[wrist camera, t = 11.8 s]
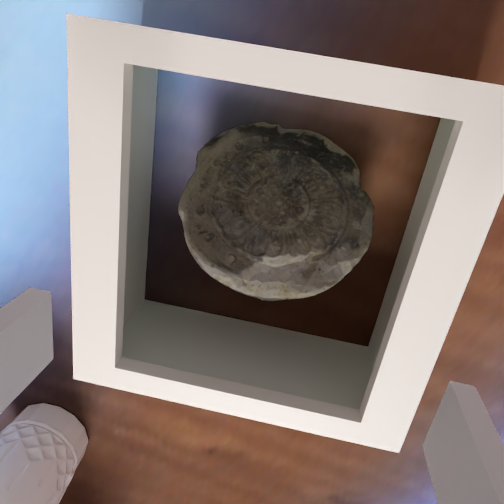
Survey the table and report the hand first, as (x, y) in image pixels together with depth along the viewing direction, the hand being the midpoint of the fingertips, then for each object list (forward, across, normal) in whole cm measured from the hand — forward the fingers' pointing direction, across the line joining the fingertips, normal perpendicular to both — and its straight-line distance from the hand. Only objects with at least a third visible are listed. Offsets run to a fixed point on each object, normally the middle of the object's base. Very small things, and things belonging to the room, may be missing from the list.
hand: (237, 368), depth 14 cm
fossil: (+16, 0, -2) cm, 16 cm away
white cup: (+16, +16, +24) cm, 33 cm away
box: (+15, 0, 0) cm, 15 cm away
